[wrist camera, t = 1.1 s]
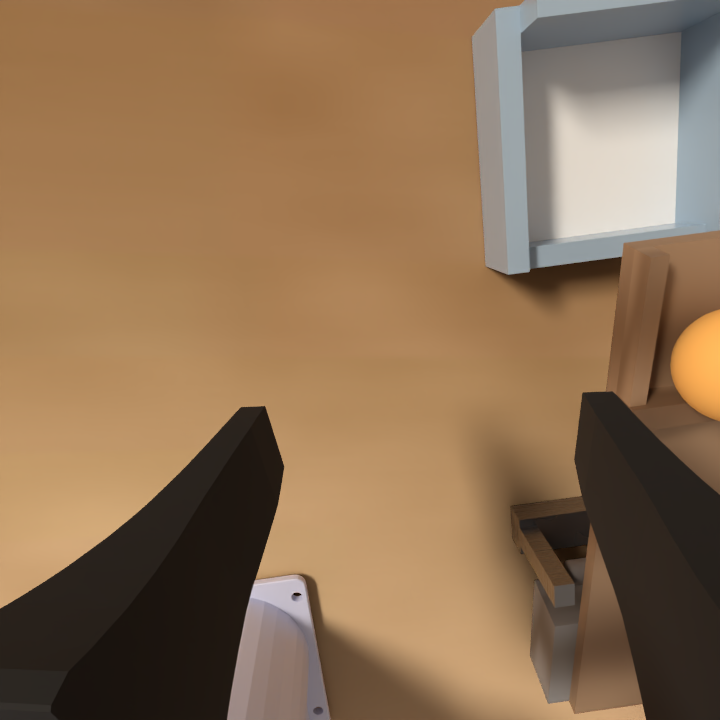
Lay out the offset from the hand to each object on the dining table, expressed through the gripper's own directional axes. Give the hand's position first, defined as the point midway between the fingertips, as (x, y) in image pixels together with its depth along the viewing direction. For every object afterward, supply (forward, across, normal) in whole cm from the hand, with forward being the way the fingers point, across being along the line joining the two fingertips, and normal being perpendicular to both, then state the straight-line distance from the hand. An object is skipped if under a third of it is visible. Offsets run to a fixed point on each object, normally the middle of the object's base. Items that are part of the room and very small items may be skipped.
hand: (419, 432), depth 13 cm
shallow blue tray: (+14, -7, -2) cm, 16 cm away
